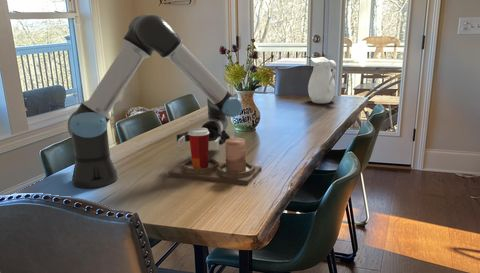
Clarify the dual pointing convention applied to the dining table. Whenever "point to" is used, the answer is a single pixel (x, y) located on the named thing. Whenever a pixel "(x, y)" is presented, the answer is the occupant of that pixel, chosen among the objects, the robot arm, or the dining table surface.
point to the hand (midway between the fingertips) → (197, 144)
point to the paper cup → (199, 147)
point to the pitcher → (322, 80)
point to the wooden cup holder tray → (222, 166)
